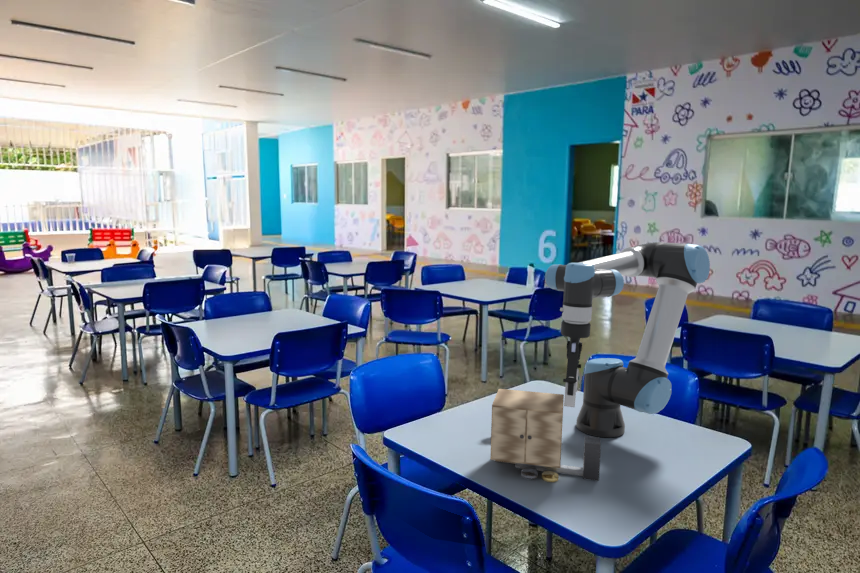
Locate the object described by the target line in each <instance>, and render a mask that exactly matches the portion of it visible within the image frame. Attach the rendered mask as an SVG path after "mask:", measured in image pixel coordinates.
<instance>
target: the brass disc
mask: <svg viewBox="0 0 860 573" xmlns="http://www.w3.org/2000/svg"><path fill="white" fill-rule="evenodd" d="M559 477H560V476H559V473H555V472H552V471H542V473H541V479H542V480H543V481H544V482H547V483H556V482H558V481H559Z"/></svg>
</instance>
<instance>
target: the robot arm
mask: <svg viewBox="0 0 860 573" xmlns="http://www.w3.org/2000/svg"><path fill="white" fill-rule="evenodd" d="M709 256H710V255H709V254H708V252H707V250H706V249H705V247H704V246H702V245H699V244H692V243H689V242H688V243H679V242H677V243H676V242H662V241H656V242H653V241H652V242H648V243H644V244H638V245H635V246H630V247H626V248H624V249H622V250H621V251H620V252H617V253H614V254H610V255H606V256H601V257H597V258H592V259H588V260H583V261H579V262H568V263H567V264H561V263H560V264H552V265H550V266H549V267H548V268H547V270H546V272H545V279H544V280H545V283H546V285H547V287H548V288H550V289H552V290H555V291H558V292H563V301H562V307H559V308H560V309H559V311H560V312H562V313H561V319H562V321H561V323H560V324H561V328H560V334H561V335H562V336H563V337H566V338H569V340H567V341H566V359H567V364H566V374H565V376H566V377H565V378H562V382H563V383H565V386H564V402H563V407H567V408H575V407H576V397H577V396H576V395H577V392H578V385H579V384H578V381H579V370H580V369H581V368H582V364H580V359H581V354H582V350H583V342H582V341H581V339H587V338H589V337H590V336H591V327H592V326H591V323H590V322H591V321H592V315H593V299H594V298H610V297H612V296H616V295H617V296H618V295H619V294H620V293H621V292H622V290H623V289H624V284H625V280H624V277H629V278H634V277H646V278H647V277H648V278H655V281H656V283H657V285H658V290H657V292H656V295H655V298H654V301H653V304H652V306H651V311H650V313H649V315H648V319H647V323H646V326H645V329H644V331H643V334H642V335H643V336H642V337H641V342H640V345H639V346H638V350H637V353H636V357H635V358H633V359H631V360H629V361H628V364H627V367H624V361H623V360H622V359H619V358H612V357H611V358H610V357H607V358H606V357H598V358H592V359H590V360H587V361H586V363H585V366H584V372H583V374H584V375H583V397H582V399H583V400H582V404H581V405H582V406H581V407H580V410H579V413H578V414H577V418H576V422H575V423H576V424H575V425H576V428H577V430H578V431H579V432H580V431H581V432H582V433H584V434H586V435H588V436H592V437H600V438H617V437H620V436H622V435H624V434H625V429H626V428H625V427H626V424H625V420H624V417H623V413H622V410H621V407H622V406H623V407H626V408H629V409H632V410H635V412H636V411H637V412H639V413H644V414H647V415H648V414H649V415H654V414H655V415H656V414H658V413H659V412H660V411H663V409H664V408H665V407H666V405H667V404H668V402H669V400H670V399H671V395H672V393H673V392H672V382H671V381H670V380H669V378H668V376H669V372H668V371H667V369H666V365H667V362H668V359H669V355H670V352H671V348H672V346H673V343H674V339H675V336H676V333H677V331H678V330H677V329H678V327H679V323H680V320H681V317H682V314H683V311H684V308H685V306H686V302H687V298H688V297H689V296H688V295H690V294H691V293H693V292H695V291H696V287H697V285H698V284H700V285H701V284H703V283H705V282H706V281H707V280H708V277H709V274H710V270H711V264H710V262H711V261H710V258H709Z"/></svg>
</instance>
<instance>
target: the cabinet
mask: <svg viewBox="0 0 860 573" xmlns="http://www.w3.org/2000/svg"><path fill="white" fill-rule="evenodd" d="M564 399H565V394H562V393H552V392H551V393H550V392H539V391H527V390H517V389H507V388H498V389H497V392H496V395H495V397H494V399H493V402H492V404H491V422H490V423H491V427H490V428H491V429H490V432H491V433H490V461H494V462H498V463H504V464H513V465H514V464H515V465H516V463H522V464H530V465H539V466H547V467H555V468H560V465H562V463H561V461H562V445H563V444H562V442H563V441H562V440H563V438H562V437H563V422H564V420H563V418H564V417H563V416H564Z"/></svg>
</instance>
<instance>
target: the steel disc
mask: <svg viewBox="0 0 860 573" xmlns="http://www.w3.org/2000/svg"><path fill="white" fill-rule="evenodd" d="M538 475H539V474H538V471H537V470H533V469H521V470H520V476H521V477H522V478H523V479H525V480H531V481H532V480H536V479H537V478H539V477H538Z"/></svg>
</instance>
